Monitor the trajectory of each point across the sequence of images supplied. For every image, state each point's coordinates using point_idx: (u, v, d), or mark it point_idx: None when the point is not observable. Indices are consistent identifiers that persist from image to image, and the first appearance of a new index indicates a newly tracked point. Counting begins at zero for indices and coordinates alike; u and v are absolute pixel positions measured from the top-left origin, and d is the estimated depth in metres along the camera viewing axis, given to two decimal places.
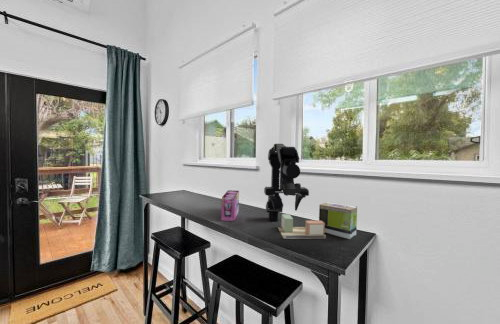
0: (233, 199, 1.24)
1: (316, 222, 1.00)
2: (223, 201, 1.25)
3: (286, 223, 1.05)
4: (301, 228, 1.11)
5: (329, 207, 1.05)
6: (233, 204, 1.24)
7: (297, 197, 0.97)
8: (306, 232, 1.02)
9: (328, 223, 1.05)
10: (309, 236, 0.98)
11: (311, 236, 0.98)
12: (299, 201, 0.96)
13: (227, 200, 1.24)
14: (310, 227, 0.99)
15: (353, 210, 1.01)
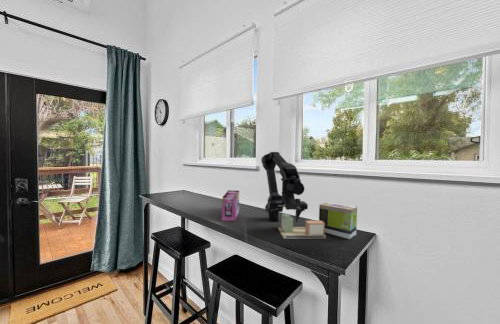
0: (233, 199, 1.24)
1: (316, 222, 1.00)
2: (223, 201, 1.25)
3: (286, 223, 1.05)
4: (301, 228, 1.11)
5: (329, 207, 1.05)
6: (233, 204, 1.25)
7: (297, 210, 1.09)
8: (306, 232, 1.02)
9: (328, 223, 1.05)
10: (309, 236, 0.98)
11: (311, 236, 0.98)
12: (299, 214, 1.08)
13: (228, 200, 1.24)
14: (310, 227, 0.99)
15: (353, 210, 1.01)
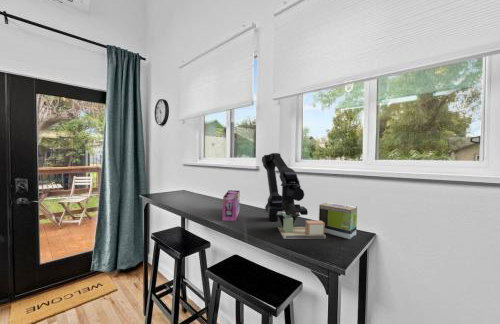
0: (234, 199, 1.24)
1: (316, 222, 1.00)
2: (224, 201, 1.25)
3: (286, 223, 1.05)
4: (301, 228, 1.11)
5: (329, 207, 1.05)
6: (234, 204, 1.25)
7: (292, 216, 1.09)
8: (306, 232, 1.02)
9: (328, 223, 1.05)
10: (309, 236, 0.98)
11: (311, 236, 0.98)
12: (294, 219, 1.08)
13: (228, 200, 1.24)
14: (310, 227, 0.99)
15: (353, 210, 1.01)
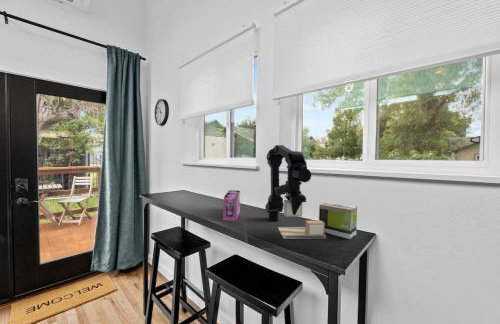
0: (235, 199, 1.25)
1: (316, 222, 1.00)
2: (225, 201, 1.25)
3: (284, 205, 1.01)
4: (301, 228, 1.11)
5: (329, 207, 1.05)
6: (235, 204, 1.25)
7: None
8: (306, 232, 1.02)
9: (328, 223, 1.05)
10: (309, 236, 0.98)
11: (311, 236, 0.98)
12: (292, 205, 0.97)
13: (229, 200, 1.24)
14: (310, 227, 0.99)
15: (353, 210, 1.01)
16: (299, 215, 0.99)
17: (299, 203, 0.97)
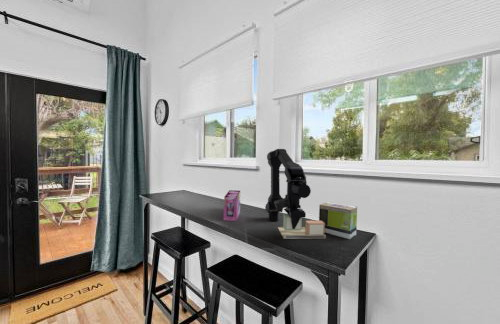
0: (235, 199, 1.25)
1: (316, 222, 1.00)
2: (225, 201, 1.25)
3: (283, 219, 1.02)
4: None
5: (329, 207, 1.05)
6: (235, 204, 1.25)
7: None
8: (306, 232, 1.02)
9: (328, 223, 1.05)
10: (309, 236, 0.98)
11: (311, 236, 0.98)
12: (291, 219, 0.97)
13: (229, 200, 1.24)
14: (310, 227, 0.99)
15: (353, 210, 1.01)
16: (298, 229, 0.99)
17: (298, 217, 0.97)
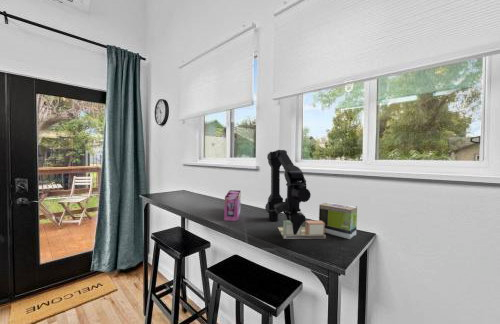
0: (236, 199, 1.25)
1: (316, 222, 1.00)
2: (226, 201, 1.25)
3: (283, 225, 1.02)
4: None
5: (329, 207, 1.05)
6: (236, 204, 1.25)
7: None
8: (306, 232, 1.02)
9: (328, 223, 1.05)
10: (309, 236, 0.98)
11: (311, 236, 0.98)
12: (292, 225, 0.95)
13: (230, 200, 1.24)
14: (310, 227, 0.99)
15: (353, 210, 1.01)
16: None
17: (300, 223, 0.95)
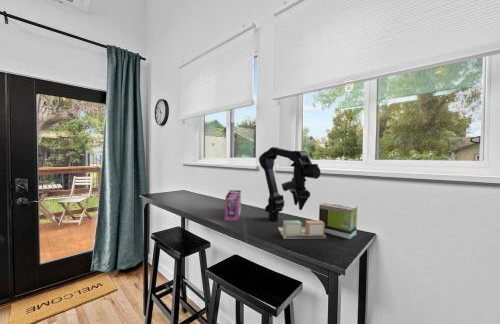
0: (237, 199, 1.25)
1: (316, 222, 1.00)
2: (227, 201, 1.25)
3: (283, 225, 1.02)
4: None
5: (329, 207, 1.05)
6: (237, 204, 1.25)
7: None
8: (306, 232, 1.02)
9: (328, 223, 1.05)
10: (309, 236, 0.98)
11: (311, 236, 0.98)
12: (298, 201, 1.04)
13: (231, 200, 1.24)
14: (310, 227, 0.99)
15: (353, 210, 1.01)
16: None
17: (305, 199, 1.04)
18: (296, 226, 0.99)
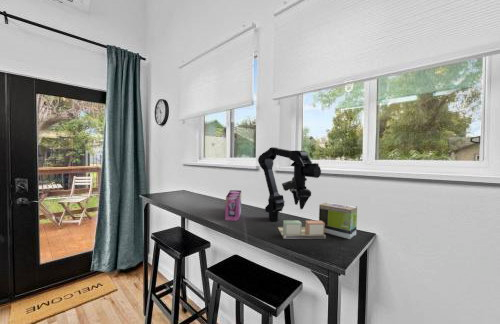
0: (237, 199, 1.25)
1: (316, 222, 1.00)
2: (227, 201, 1.25)
3: (283, 225, 1.02)
4: None
5: (329, 207, 1.05)
6: (237, 204, 1.25)
7: None
8: (306, 232, 1.02)
9: (328, 223, 1.05)
10: (309, 236, 0.98)
11: (311, 236, 0.98)
12: (299, 200, 1.05)
13: (231, 200, 1.24)
14: (310, 227, 0.99)
15: (353, 210, 1.01)
16: None
17: (306, 198, 1.04)
18: (296, 226, 0.99)
